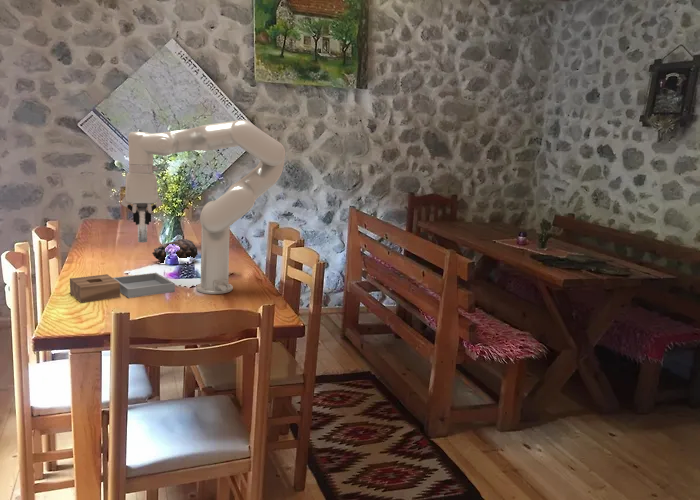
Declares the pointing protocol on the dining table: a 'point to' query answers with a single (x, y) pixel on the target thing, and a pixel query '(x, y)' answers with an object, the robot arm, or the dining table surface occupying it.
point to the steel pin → (142, 222)
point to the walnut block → (94, 288)
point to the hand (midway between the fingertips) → (142, 223)
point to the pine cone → (185, 251)
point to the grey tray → (144, 285)
